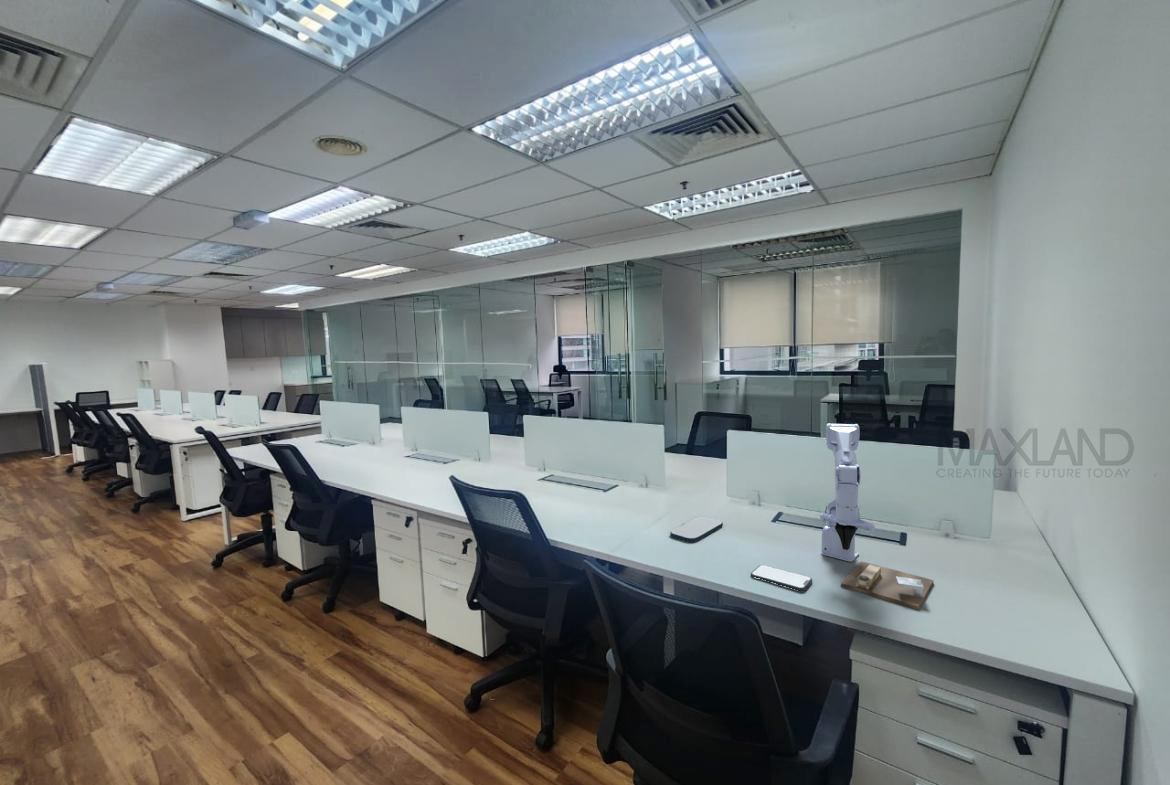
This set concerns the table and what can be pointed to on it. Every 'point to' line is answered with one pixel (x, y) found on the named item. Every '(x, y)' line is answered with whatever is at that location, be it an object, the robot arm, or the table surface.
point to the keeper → (911, 585)
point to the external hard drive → (696, 529)
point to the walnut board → (888, 586)
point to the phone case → (782, 577)
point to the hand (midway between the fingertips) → (846, 548)
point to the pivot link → (868, 576)
